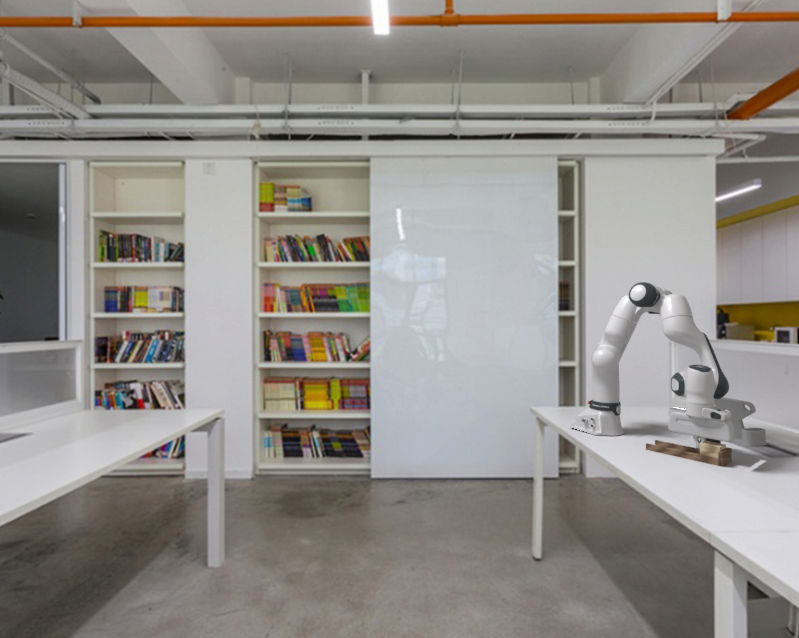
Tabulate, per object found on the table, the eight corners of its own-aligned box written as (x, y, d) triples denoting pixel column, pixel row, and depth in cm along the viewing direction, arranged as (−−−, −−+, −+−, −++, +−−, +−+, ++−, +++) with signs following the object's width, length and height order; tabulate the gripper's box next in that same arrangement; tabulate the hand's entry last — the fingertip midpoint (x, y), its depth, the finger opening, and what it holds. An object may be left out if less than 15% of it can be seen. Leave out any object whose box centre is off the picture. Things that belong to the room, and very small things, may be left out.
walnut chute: (645, 452, 173) (645, 437, 173) (656, 448, 178) (656, 433, 178) (722, 470, 153) (722, 452, 153) (731, 465, 158) (731, 448, 158)
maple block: (699, 460, 159) (699, 443, 159) (706, 457, 163) (706, 440, 163) (719, 464, 155) (719, 447, 155) (725, 461, 158) (725, 444, 158)
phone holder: (769, 445, 183) (769, 401, 183) (750, 447, 180) (750, 402, 180) (728, 435, 199) (728, 394, 199) (710, 436, 197) (710, 395, 197)
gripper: (665, 407, 168) (664, 443, 168) (730, 416, 152) (730, 457, 152) (672, 404, 172) (672, 440, 172) (736, 414, 156) (736, 453, 156)
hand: (699, 448), depth 162 cm, fingers closed
